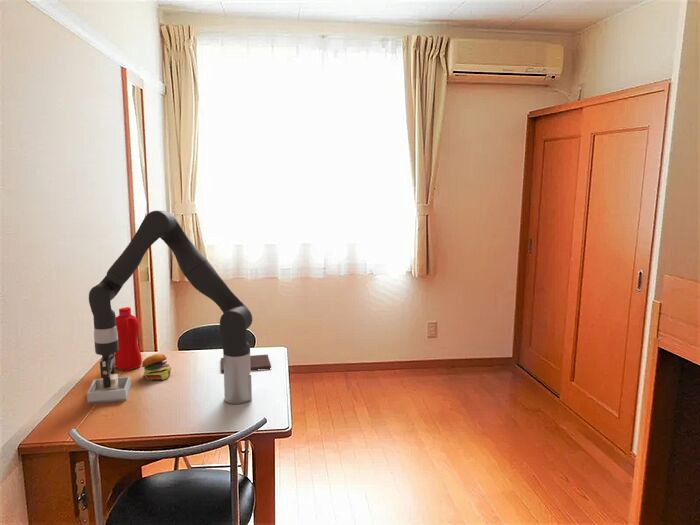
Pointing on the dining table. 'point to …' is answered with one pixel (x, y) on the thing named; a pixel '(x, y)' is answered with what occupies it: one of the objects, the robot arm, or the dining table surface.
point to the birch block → (113, 383)
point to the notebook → (254, 362)
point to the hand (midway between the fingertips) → (109, 382)
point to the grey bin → (109, 392)
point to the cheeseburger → (156, 367)
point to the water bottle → (127, 341)
